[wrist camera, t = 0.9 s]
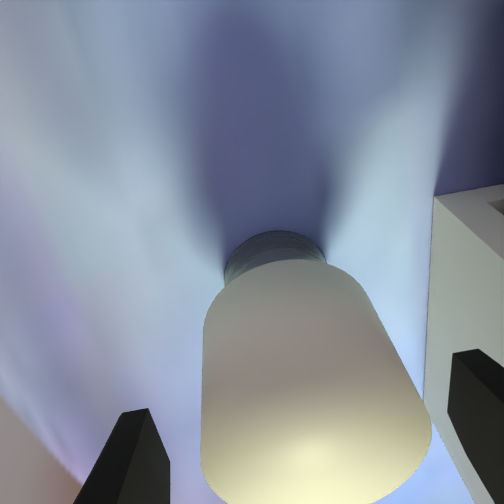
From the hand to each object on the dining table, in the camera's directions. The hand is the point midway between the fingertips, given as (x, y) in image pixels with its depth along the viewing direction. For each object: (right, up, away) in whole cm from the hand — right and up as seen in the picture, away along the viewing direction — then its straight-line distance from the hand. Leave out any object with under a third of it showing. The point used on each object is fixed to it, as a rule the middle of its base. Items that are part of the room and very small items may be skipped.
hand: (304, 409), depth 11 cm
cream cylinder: (0, +1, +2) cm, 3 cm away
